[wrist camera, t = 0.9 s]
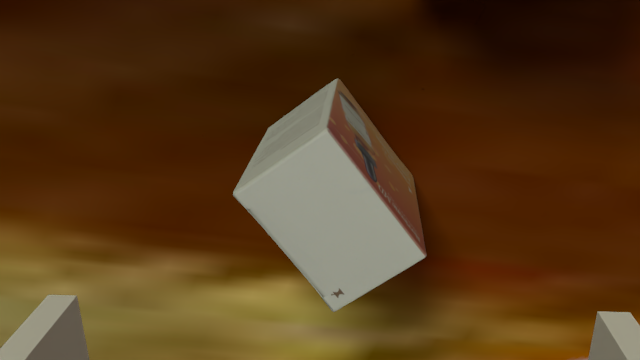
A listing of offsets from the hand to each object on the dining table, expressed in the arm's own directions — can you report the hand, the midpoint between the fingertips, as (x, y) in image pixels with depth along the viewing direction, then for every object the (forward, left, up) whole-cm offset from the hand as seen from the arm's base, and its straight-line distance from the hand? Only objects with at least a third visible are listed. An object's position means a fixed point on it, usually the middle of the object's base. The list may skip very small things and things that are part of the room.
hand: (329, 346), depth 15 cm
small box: (0, -3, -23) cm, 23 cm away
